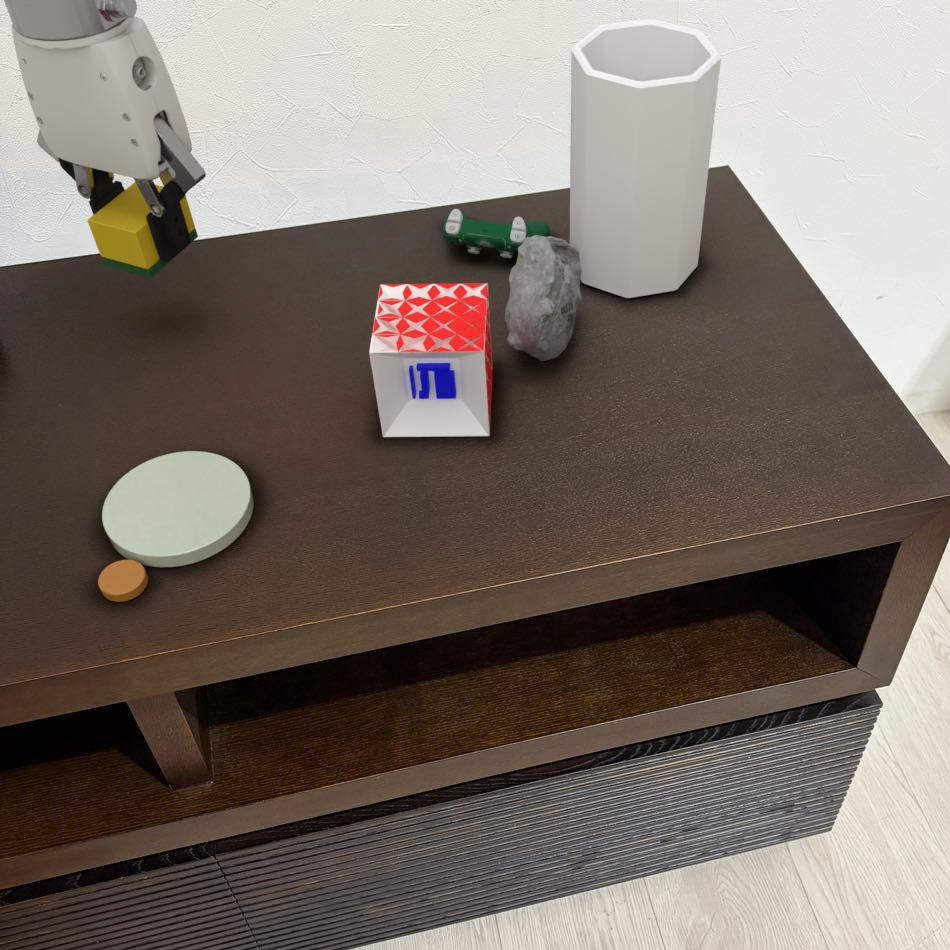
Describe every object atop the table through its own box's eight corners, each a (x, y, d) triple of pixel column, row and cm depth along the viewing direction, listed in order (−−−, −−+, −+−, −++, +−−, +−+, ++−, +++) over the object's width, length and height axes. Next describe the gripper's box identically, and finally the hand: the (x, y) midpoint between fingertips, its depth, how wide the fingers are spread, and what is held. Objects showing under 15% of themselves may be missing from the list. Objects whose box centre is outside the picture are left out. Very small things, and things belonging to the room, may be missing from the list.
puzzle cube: (492, 367, 86) (488, 283, 80) (489, 436, 81) (484, 351, 75) (391, 368, 86) (378, 284, 80) (381, 437, 81) (367, 352, 75)
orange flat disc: (91, 593, 71) (87, 586, 71) (120, 561, 73) (117, 553, 73) (129, 608, 71) (125, 600, 70) (157, 574, 72) (154, 567, 72)
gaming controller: (447, 255, 100) (429, 241, 94) (454, 212, 99) (436, 196, 93) (546, 268, 98) (534, 255, 92) (553, 225, 98) (541, 209, 92)
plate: (76, 540, 74) (70, 528, 74) (166, 447, 81) (162, 435, 80) (197, 586, 72) (192, 574, 71) (281, 486, 78) (278, 474, 77)
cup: (700, 230, 99) (724, 21, 85) (694, 305, 91) (718, 89, 77) (577, 222, 100) (580, 13, 86) (561, 294, 92) (561, 80, 79)
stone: (598, 382, 85) (602, 273, 77) (511, 391, 84) (507, 282, 77) (579, 310, 91) (581, 202, 83) (497, 318, 90) (492, 210, 83)
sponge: (151, 278, 83) (135, 232, 80) (104, 265, 84) (86, 219, 81) (198, 236, 87) (184, 191, 84) (152, 224, 88) (137, 179, 85)
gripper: (209, -1, 71) (267, 243, 85) (8, -38, 76) (93, 198, 90) (136, 47, 67) (209, 296, 80) (-73, 4, 72) (30, 246, 85)
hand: (147, 242), depth 85 cm, fingers closed on sponge, 4 cm apart
